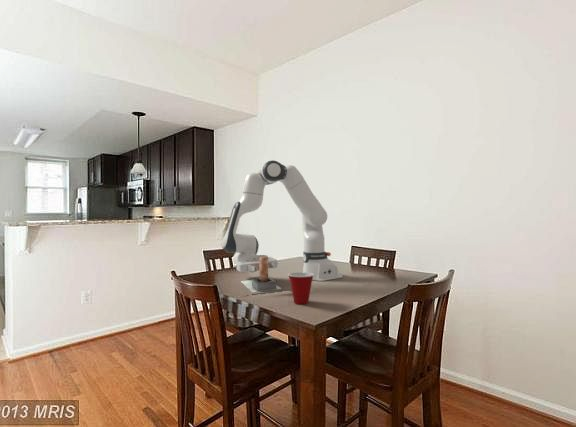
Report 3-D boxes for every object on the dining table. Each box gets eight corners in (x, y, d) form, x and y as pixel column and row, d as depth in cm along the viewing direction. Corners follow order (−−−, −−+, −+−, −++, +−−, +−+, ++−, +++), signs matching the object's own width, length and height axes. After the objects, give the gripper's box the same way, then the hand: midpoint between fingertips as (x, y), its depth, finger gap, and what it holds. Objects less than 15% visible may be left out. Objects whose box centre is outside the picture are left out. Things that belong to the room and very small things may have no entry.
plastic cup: (314, 298, 139) (314, 270, 138) (314, 306, 128) (313, 276, 128) (289, 298, 140) (288, 270, 139) (286, 306, 129) (286, 275, 129)
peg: (266, 286, 155) (266, 256, 154) (269, 288, 151) (269, 257, 150) (258, 287, 153) (258, 257, 153) (261, 289, 149) (260, 258, 149)
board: (266, 281, 170) (266, 271, 170) (282, 291, 150) (281, 281, 150) (240, 284, 165) (240, 274, 165) (252, 295, 145) (252, 284, 145)
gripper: (231, 258, 157) (243, 263, 145) (269, 254, 168) (283, 258, 156) (232, 271, 157) (243, 277, 146) (269, 267, 168) (283, 271, 156)
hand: (264, 267), depth 151 cm, fingers open, 8 cm apart
